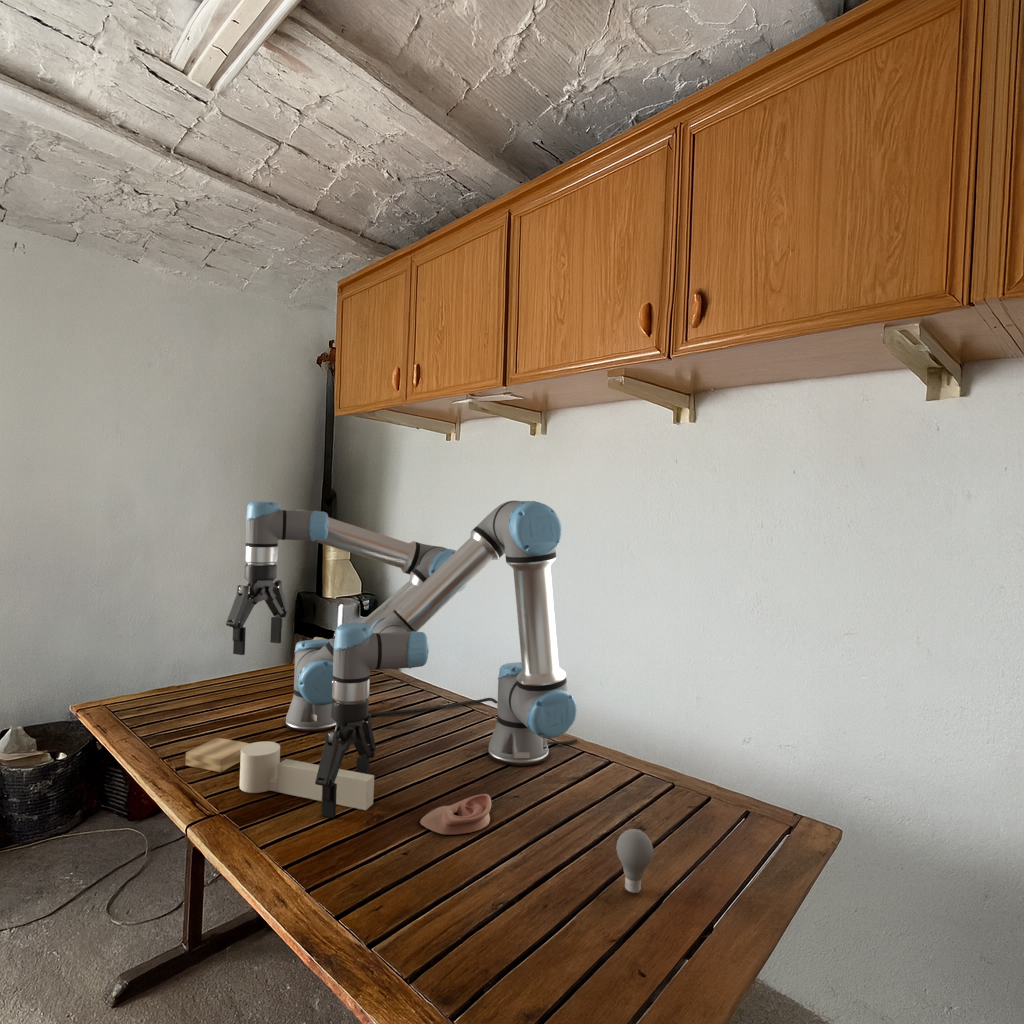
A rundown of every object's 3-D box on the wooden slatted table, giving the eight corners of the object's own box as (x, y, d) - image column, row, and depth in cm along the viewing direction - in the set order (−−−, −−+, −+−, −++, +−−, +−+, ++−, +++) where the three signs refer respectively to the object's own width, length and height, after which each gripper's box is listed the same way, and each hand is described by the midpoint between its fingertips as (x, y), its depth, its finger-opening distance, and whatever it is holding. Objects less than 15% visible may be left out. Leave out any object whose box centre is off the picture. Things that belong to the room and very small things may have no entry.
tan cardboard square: (185, 765, 146) (185, 752, 146) (217, 749, 156) (217, 737, 156) (220, 772, 143) (221, 759, 143) (251, 756, 153) (251, 743, 153)
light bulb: (610, 879, 108) (613, 822, 108) (644, 879, 109) (647, 822, 109) (619, 902, 102) (622, 840, 102) (655, 901, 103) (658, 840, 103)
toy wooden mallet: (231, 789, 135) (232, 752, 135) (256, 774, 143) (257, 739, 143) (359, 816, 126) (361, 776, 126) (379, 798, 134) (380, 761, 134)
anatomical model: (415, 809, 122) (434, 784, 133) (414, 830, 122) (433, 802, 133) (482, 819, 119) (496, 792, 130) (481, 840, 119) (495, 811, 130)
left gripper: (280, 558, 171) (277, 636, 171) (211, 566, 147) (208, 657, 147) (304, 560, 168) (301, 639, 169) (238, 569, 144) (235, 661, 145)
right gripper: (364, 681, 144) (360, 774, 145) (298, 714, 121) (294, 825, 121) (394, 685, 142) (389, 780, 142) (333, 720, 119) (328, 833, 119)
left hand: (258, 648), depth 158 cm, fingers open, 13 cm apart
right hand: (345, 801), depth 132 cm, fingers open, 12 cm apart
